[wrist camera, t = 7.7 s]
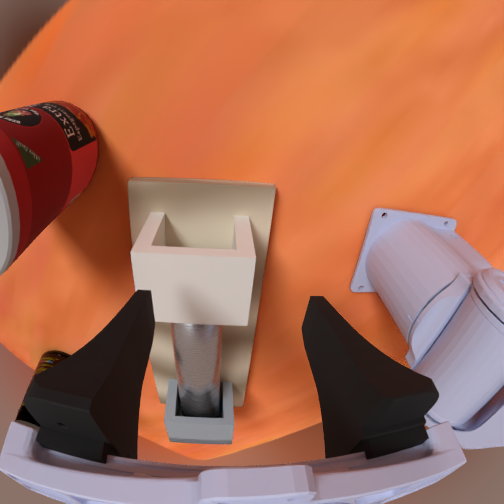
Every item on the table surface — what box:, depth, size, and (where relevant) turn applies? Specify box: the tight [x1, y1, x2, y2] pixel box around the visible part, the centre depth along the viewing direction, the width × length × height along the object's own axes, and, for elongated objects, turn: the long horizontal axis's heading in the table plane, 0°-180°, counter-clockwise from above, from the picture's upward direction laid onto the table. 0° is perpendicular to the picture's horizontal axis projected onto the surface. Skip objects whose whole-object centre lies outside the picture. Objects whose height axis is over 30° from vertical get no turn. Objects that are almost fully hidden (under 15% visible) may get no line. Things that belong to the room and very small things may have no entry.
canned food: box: [0, 101, 99, 276], centre depth 13 cm, size 8×8×11 cm
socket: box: [164, 379, 234, 444], centre depth 29 cm, size 5×7×5 cm
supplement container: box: [15, 351, 70, 432], centre depth 25 cm, size 7×7×10 cm
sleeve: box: [130, 212, 256, 326], centre depth 19 cm, size 5×7×5 cm
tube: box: [171, 323, 223, 418], centre depth 25 cm, size 19×4×4 cm, turn 174°
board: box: [128, 177, 276, 407], centre depth 27 cm, size 27×10×1 cm, turn 174°
